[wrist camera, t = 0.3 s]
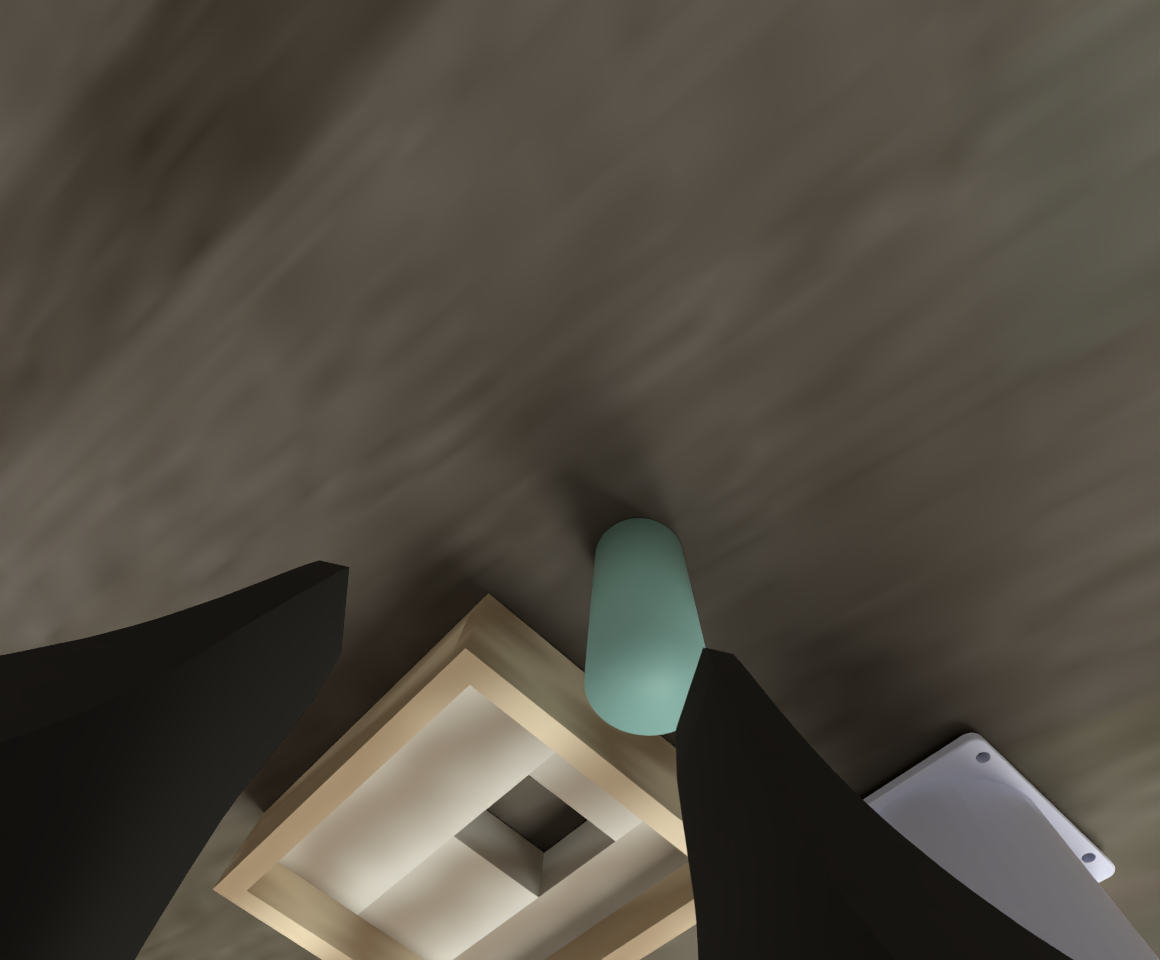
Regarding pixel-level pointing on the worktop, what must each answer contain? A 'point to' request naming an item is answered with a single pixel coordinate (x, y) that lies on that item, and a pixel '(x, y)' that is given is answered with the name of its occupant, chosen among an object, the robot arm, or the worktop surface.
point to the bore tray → (474, 820)
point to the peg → (641, 629)
